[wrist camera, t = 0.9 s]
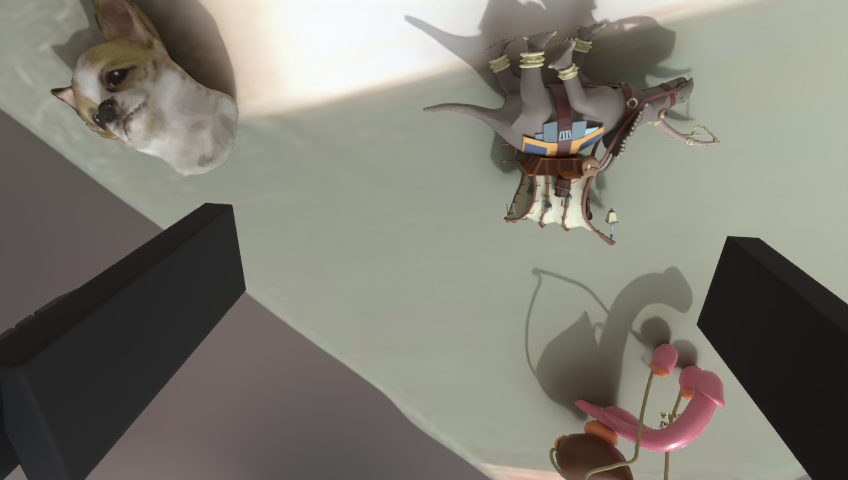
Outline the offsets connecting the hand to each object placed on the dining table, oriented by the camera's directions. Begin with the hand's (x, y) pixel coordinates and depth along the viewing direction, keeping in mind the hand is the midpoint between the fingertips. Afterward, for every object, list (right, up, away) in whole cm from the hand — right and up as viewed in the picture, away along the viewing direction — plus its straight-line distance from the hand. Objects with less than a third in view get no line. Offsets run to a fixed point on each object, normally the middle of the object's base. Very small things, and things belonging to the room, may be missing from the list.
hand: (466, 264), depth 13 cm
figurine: (+10, +8, +24) cm, 27 cm away
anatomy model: (+19, -15, +33) cm, 41 cm away
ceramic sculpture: (-22, +13, +25) cm, 35 cm away
